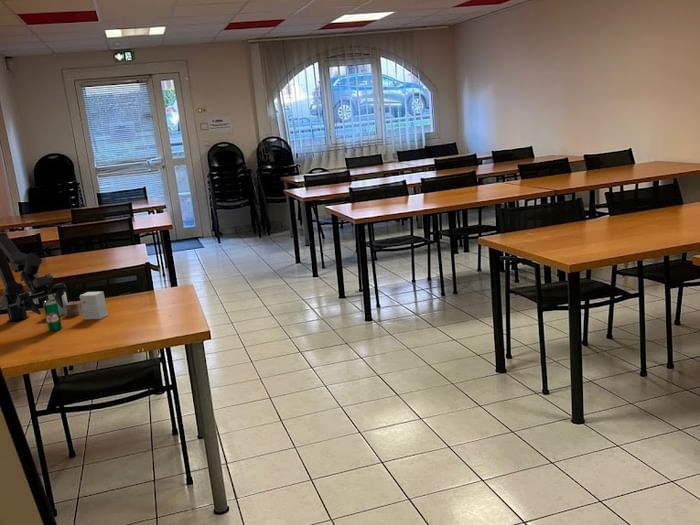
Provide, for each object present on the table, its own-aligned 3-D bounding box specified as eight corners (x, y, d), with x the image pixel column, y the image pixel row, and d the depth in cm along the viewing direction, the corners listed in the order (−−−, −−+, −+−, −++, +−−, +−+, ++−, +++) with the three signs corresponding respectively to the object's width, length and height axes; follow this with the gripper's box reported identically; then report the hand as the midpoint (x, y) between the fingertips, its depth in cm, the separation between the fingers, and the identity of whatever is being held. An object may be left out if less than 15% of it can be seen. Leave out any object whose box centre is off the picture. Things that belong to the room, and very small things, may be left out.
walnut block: (67, 316, 280) (65, 305, 279) (71, 313, 285) (69, 302, 284) (79, 315, 280) (77, 304, 279) (83, 311, 285) (81, 300, 284)
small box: (108, 315, 275) (104, 291, 273) (100, 319, 270) (95, 295, 268) (92, 315, 278) (87, 291, 275) (83, 319, 272) (79, 295, 270)
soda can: (47, 332, 259) (41, 303, 256) (49, 329, 263) (43, 300, 261) (61, 330, 260) (55, 301, 257) (63, 326, 265) (57, 298, 262)
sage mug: (68, 314, 283) (64, 294, 281) (51, 317, 281) (47, 297, 279) (70, 309, 291) (66, 290, 289) (53, 312, 289) (49, 292, 287)
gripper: (12, 274, 253) (32, 305, 248) (59, 263, 267) (78, 292, 262) (8, 292, 259) (26, 322, 255) (53, 280, 273) (72, 308, 269)
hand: (51, 310), depth 260 cm, fingers open, 9 cm apart
